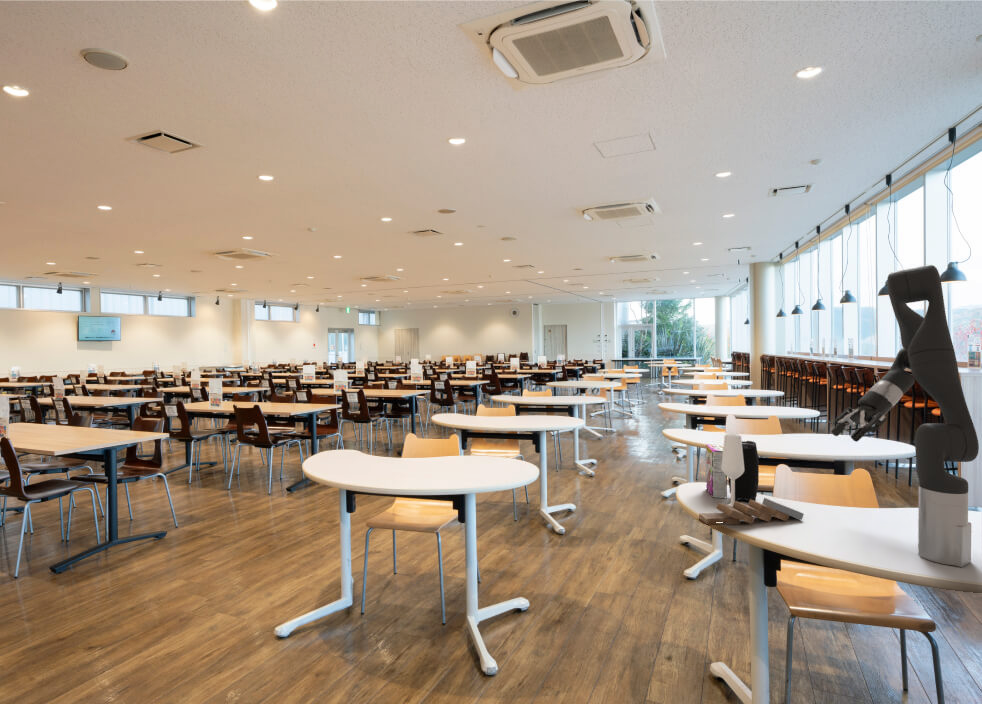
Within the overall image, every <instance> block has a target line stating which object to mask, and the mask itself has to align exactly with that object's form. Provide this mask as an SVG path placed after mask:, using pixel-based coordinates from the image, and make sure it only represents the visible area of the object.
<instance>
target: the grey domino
mask: <svg viewBox="0 0 982 704" xmlns="http://www.w3.org/2000/svg"><path fill="white" fill-rule="evenodd" d="M761 504H764V505H766V506H768V507H770V508H772V509H775V510H777V511H780V512H782V513H785V514H787V515H789V517H790V516H791V517H792V518H795V519H798V520H801V521H803V518H804V515H805V514H804V512H803V513H802V512H801V511H799V510H797V509H794V508H792V507H789V506H786V505H785V504H782V503H779V502H777V501H774V500H772V499H769V498H767V497H764V498H763V500H762V503H761Z"/></svg>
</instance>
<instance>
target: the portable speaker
mask: <svg viewBox="0 0 982 704" xmlns="http://www.w3.org/2000/svg"><path fill="white" fill-rule="evenodd" d="M742 450H743V460H744V472H743V474H742V475H741V476H740V477H738V478H737V479H735V500H738V501H739V500H741V501H742V500H743V501H744V500H745V501H747V502H748V503H749V501H750V499H751V500H753V501H756V500H757V495H758V489H759V483H760V482H759V478H760V477H759V474H760V473H759V472H760V471H759V470H760V469H759V467H760V466H759V463H760V461H759V454H758V448H757V443H756V442H755V441H752V440H746V441H742ZM727 481H728V486H729V487H728V488H729V493H730V494H731V479H730V478H728V477H727ZM756 502H757V501H756Z"/></svg>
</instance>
